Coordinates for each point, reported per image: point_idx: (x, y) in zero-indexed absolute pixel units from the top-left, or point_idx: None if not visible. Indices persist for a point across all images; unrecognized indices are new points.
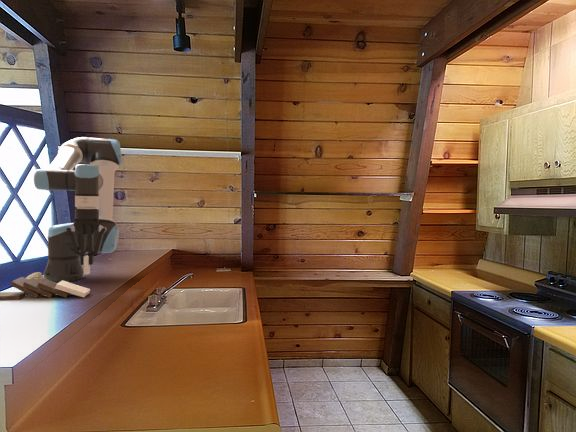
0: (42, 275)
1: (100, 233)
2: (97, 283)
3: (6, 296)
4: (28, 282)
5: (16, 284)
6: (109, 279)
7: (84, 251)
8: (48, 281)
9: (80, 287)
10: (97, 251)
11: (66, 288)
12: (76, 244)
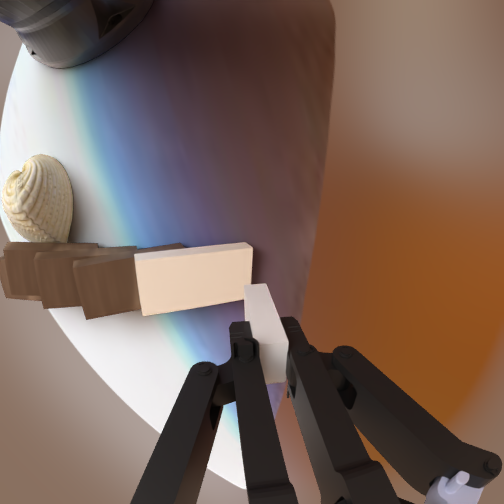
0: (32, 184)
1: (424, 484)
2: (232, 68)
3: (37, 300)
4: (51, 300)
5: (27, 293)
6: (264, 12)
7: (254, 375)
8: (94, 277)
9: (219, 266)
10: (350, 391)
11: (181, 307)
12: (209, 452)
